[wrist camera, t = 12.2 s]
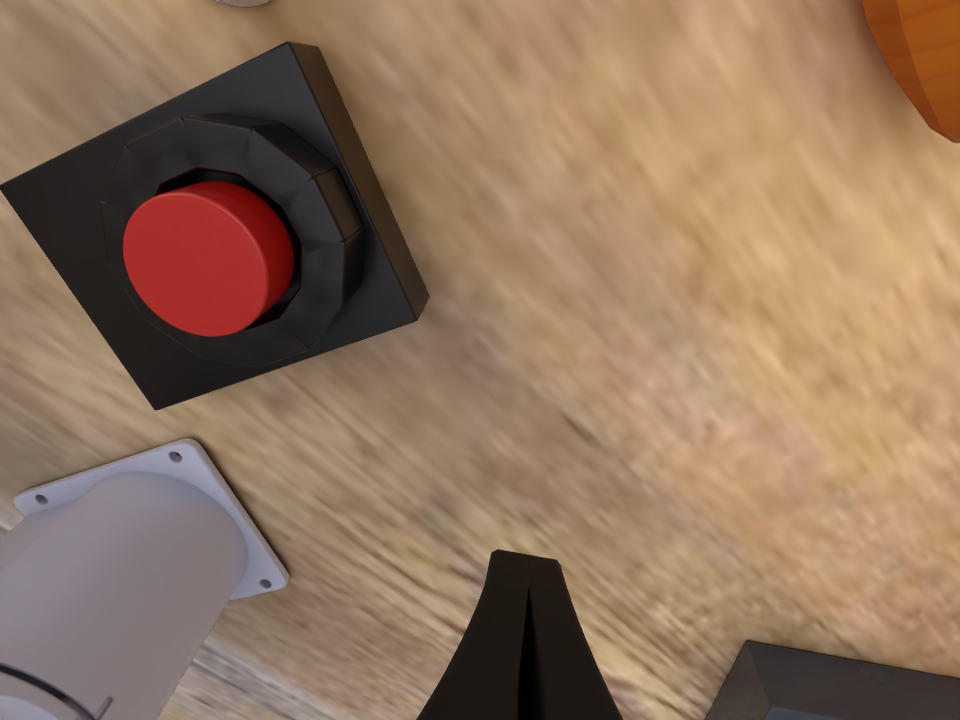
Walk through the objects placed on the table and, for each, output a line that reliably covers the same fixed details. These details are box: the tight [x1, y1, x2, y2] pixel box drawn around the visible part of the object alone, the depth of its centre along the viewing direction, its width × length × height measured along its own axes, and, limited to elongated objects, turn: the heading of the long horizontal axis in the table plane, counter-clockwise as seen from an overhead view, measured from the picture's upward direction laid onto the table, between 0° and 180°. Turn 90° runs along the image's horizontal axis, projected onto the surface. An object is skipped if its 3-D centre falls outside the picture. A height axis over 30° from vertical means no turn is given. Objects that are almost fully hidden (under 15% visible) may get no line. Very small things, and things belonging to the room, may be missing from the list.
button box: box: [0, 41, 429, 410], centre depth 17 cm, size 10×8×4 cm
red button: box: [123, 181, 294, 336], centre depth 15 cm, size 4×4×2 cm
